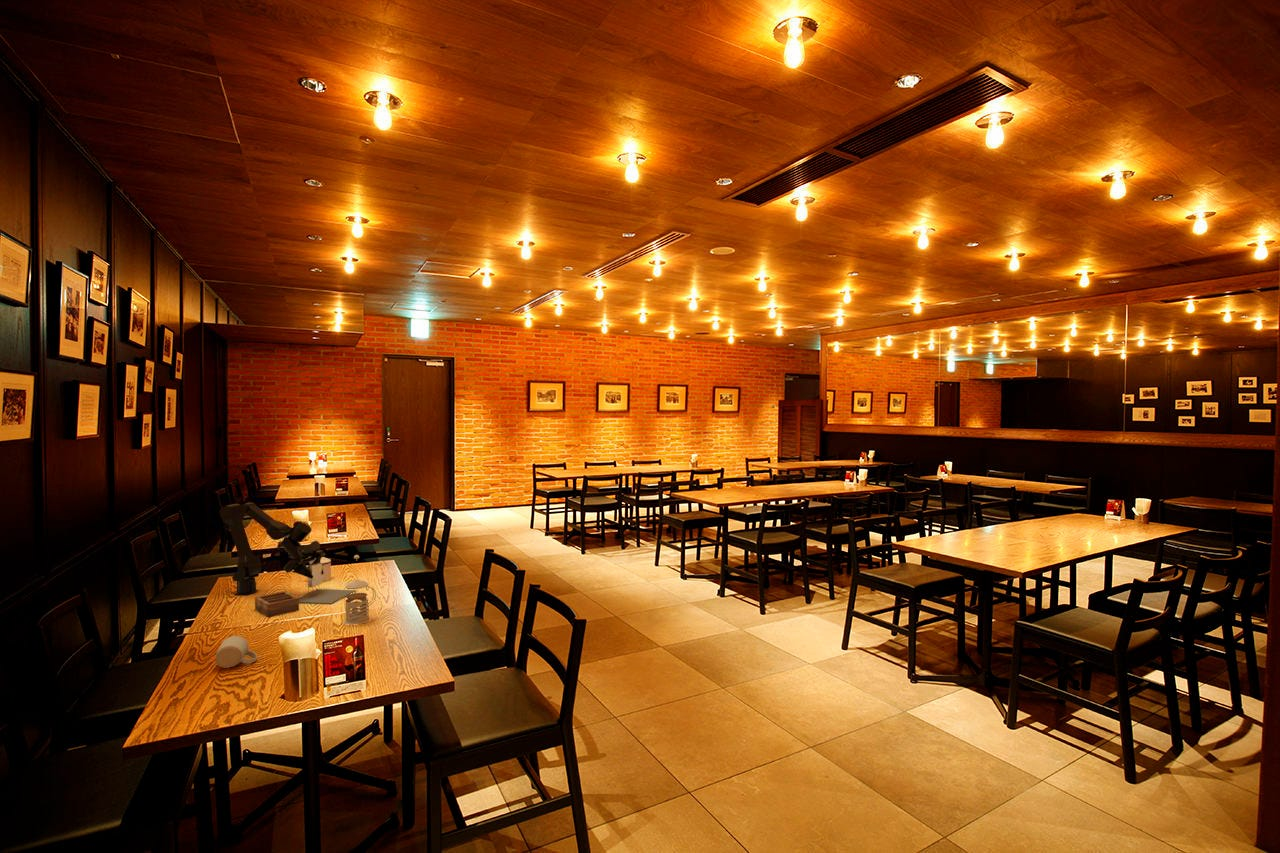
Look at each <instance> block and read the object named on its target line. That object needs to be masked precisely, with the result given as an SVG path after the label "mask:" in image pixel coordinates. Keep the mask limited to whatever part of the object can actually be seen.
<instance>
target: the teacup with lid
mask: <svg viewBox="0 0 1280 853" xmlns="http://www.w3.org/2000/svg"><path fill="white" fill-rule="evenodd" d="M320 562H321V563H322V569H323V572H324V573H323V574H322V583H324V582H323V581H325V582H328V581H330V580H331V579H332V565H331V564H332V560H331V558H327V557H325V556H323V557H322V558H321V560H320ZM308 563H309V562H308ZM309 565H311V564H310V563H309ZM309 565H306V567H307V568H308V566H309ZM327 580H328V581H327Z"/></svg>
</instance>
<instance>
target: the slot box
mask: <svg viewBox="0 0 1280 853" xmlns="http://www.w3.org/2000/svg"><path fill="white" fill-rule="evenodd" d="M254 608H255V609H254V610H255V611H256V610H257V611H256V612H258V613H260V614H261V615H263V616H265V617H266V618H273V617H276V616H281V615H284V614H289V613H290V614H291V613H294V612H298V611H300V603H299V597H297V596H296V595H294V594H292V593H290V592H288V591H286V590H285V591H279V592H275V593H269V594H266V595H265V594H263V595H260V596H255V597H254Z"/></svg>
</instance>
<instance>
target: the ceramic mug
mask: <svg viewBox="0 0 1280 853" xmlns="http://www.w3.org/2000/svg"><path fill="white" fill-rule="evenodd" d="M220 644H221V645H220V646H219V648H218V650H217V652H216V653H215V656H214V657H215V663H216V665H217V666H218V667H221V668H224V669H231V668H230V667H232V668H234V667H236V666H237V665H239V664H240V663H242V664H253V662H254V663H255V662H256V661H257V660H258V654H257V653H256V652H255V651H252V650H250V649H249V643H248V641H247V639H246V638H244V637H243V636H238V635H233V636H229V637H227V638H225V639H224V640H223V641H222V642H221V643H220ZM245 656H248V657H250V658H247V657H245Z"/></svg>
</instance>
